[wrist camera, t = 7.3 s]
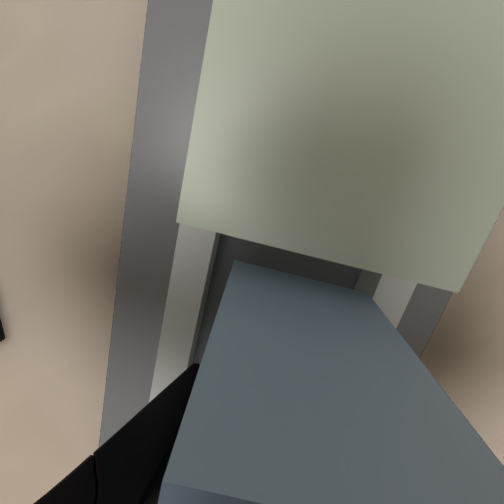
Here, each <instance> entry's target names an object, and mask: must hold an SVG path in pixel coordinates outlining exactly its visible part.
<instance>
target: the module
mask: <svg viewBox="0 0 504 504" xmlns="http://www.w3.org/2000/svg"><path fill="white" fill-rule="evenodd" d="M158 504H504V466H503V465H502V463H501V462H500V461H499V460H498V458H497V457H496V456H495V455H494V453H493V452H492V451H491V449H490V448H489V447H488V446H487V444H486V443H485V442H484V441H483V439H482V438H481V437H480V435H479V434H478V433H477V432H476V430H475V429H474V428H473V426H472V425H471V424H470V423H469V421H468V420H467V419H466V418H465V416H464V415H463V414H462V412H461V411H460V410H459V409H458V407H457V406H456V405H455V404H454V402H453V401H452V400H451V398H450V397H449V396H448V395H447V393H446V392H445V391H444V389H443V388H442V387H441V386H440V384H439V383H438V382H437V381H436V379H435V378H434V377H433V375H432V374H431V373H430V372H429V370H428V369H427V368H426V367H425V365H424V364H423V363H422V361H421V360H420V359H419V358H418V356H417V355H416V354H415V352H414V351H413V350H412V349H411V347H410V346H409V345H408V344H407V342H406V341H405V340H404V338H403V337H402V336H401V335H400V333H399V332H398V331H397V330H396V328H395V327H394V326H393V324H392V323H391V322H390V321H389V319H388V318H387V317H386V315H385V314H384V313H383V312H382V310H381V309H380V308H379V307H378V305H377V304H376V303H375V301H374V300H373V299H372V298H371V296H370V295H369V294H368V293H366V292H362V291H358V290H354V289H350V288H346V287H342V286H338V285H334V284H330V283H326V282H322V281H317V280H313V279H309V278H305V277H301V276H297V275H293V274H289V273H285V272H281V271H277V270H273V269H269V268H265V267H261V266H257V265H253V264H249V263H245V262H241V261H237V260H234V262H233V265H232V268H231V272H230V275H229V278H228V281H227V284H226V287H225V290H224V293H223V296H222V299H221V302H220V305H219V308H218V312H217V315H216V318H215V321H214V324H213V327H212V330H211V333H210V336H209V339H208V342H207V345H206V348H205V352H204V355H203V358H202V361H201V364H200V367H199V370H198V373H197V376H196V379H195V382H194V385H193V388H192V391H191V395H190V398H189V401H188V404H187V407H186V410H185V413H184V416H183V419H182V422H181V425H180V428H179V431H178V435H177V438H176V441H175V444H174V447H173V450H172V453H171V456H170V459H169V462H168V465H167V468H166V471H165V475H164V478H163V481H162V485H161V490H160V495H159V499H158Z"/></svg>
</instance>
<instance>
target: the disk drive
mask: <svg viewBox="0 0 504 504" xmlns="http://www.w3.org/2000/svg"><path fill="white" fill-rule="evenodd" d="M4 339H5V336H4V332H3V327H2V323H1V320H0V342H1V341H2V340H4Z"/></svg>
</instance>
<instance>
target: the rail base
mask: <svg viewBox="0 0 504 504" xmlns="http://www.w3.org/2000/svg"><path fill="white" fill-rule="evenodd" d="M503 208H504V0H148V6H147V15H146V24H145V33H144V42H143V51H142V60H141V69H140V78H139V87H138V96H137V106H136V115H135V124H134V133H133V142H132V151H131V160H130V169H129V178H128V187H127V196H126V205H125V214H124V223H123V232H122V241H121V250H120V259H119V268H118V277H117V287H116V296H115V305H114V314H113V323H112V332H111V341H110V350H109V359H108V368H107V377H106V386H105V395H104V404H103V413H102V422H101V431H100V440H99V447H100V446H101V445H102V444H104V443H105V442H106V441H107V440H108V439H109V438H110V437H111V436H112V435H114V434H115V433H116V432H117V431H118V430H119V429H120V428H121V427H122V426H124V425H125V424H126V423H127V422H128V421H129V420H130V419H131V418H132V417H134V416H135V415H136V414H137V413H138V412H139V411H140V410H141V409H143V408H144V407H145V406H146V405H147V404H148V403H149V402H150V401H151V400H153V399H154V398H155V397H156V396H157V395H158V394H159V393H160V392H161V391H163V390H164V389H165V388H166V387H167V386H168V385H169V384H170V383H171V382H173V381H174V380H175V379H176V378H177V377H178V376H179V375H180V374H181V373H183V372H184V371H185V370H186V369H187V368H188V367H189V366H190V365H192V364H193V363H198V364H201V361H202V358H203V355H204V352H205V348H206V345H207V342H208V339H209V336H210V333H211V330H212V327H213V324H214V321H215V318H216V315H217V312H218V308H219V305H220V302H221V299H222V296H223V293H224V290H225V287H226V284H227V281H228V278H229V275H230V272H231V268H232V265H233V262H234V260H237V261H241V262H245V263H249V264H253V265H257V266H261V267H265V268H269V269H273V270H277V271H281V272H285V273H289V274H293V275H297V276H301V277H305V278H309V279H313V280H317V281H322V282H326V283H330V284H334V285H338V286H342V287H346V288H350V289H354V290H358V291H362V292H366V293H368V294H369V295H370V296H371V298H372V299H373V300H374V301H375V303H376V304H377V305H378V307H379V308H380V309H381V310H382V312H383V313H384V314H385V315H386V317H387V318H388V319H389V321H390V322H391V323H392V324H393V326H394V327H395V328H396V330H397V331H398V332H399V333H400V335H401V336H402V337H403V338H404V340H405V341H406V342H407V344H408V345H409V346H410V347H411V349H412V350H413V351H414V352H415V354H416V355H417V356H418V358H420V356H421V354H422V352H423V350H424V348H425V346H426V344H427V342H428V340H429V338H430V336H431V334H432V332H433V330H434V329H435V327H436V325H437V323H438V321H439V319H440V317H441V315H442V313H443V311H444V309H445V307H446V305H447V303H448V301H449V299H450V297H451V295H452V293H453V292H455V293H459V292H460V290H461V289H462V287H463V285H464V283H465V281H466V279H467V277H468V275H469V273H470V271H471V269H472V267H473V265H474V263H475V262H476V260H477V258H478V256H479V254H480V252H481V250H482V248H483V246H484V244H485V242H486V240H487V238H488V237H489V235H490V233H491V231H492V229H493V227H494V225H495V223H496V221H497V219H498V217H499V215H500V213H501V211H502V210H503Z"/></svg>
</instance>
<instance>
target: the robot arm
mask: <svg viewBox="0 0 504 504" xmlns="http://www.w3.org/2000/svg"><path fill="white" fill-rule="evenodd" d="M199 367H200V364H198V363H193V364H192V365H190V366H189V367H188V368H187V369H186V370H185V371H184V372H183V373H181V374H180V375H179V376H178V377H177V378H176V379H175V380H174V381H173V382H171V383H170V384H169V385H168V386H167V387H166V388H165V389H164V390H163V391H161V392H160V393H159V394H158V395H157V396H156V397H155V398H154V399H153V400H151V401H150V402H149V403H148V404H147V405H146V406H145V407H144V408H143V409H141V410H140V411H139V412H138V413H137V414H136V415H135V416H134V417H132V418H131V419H130V420H129V421H128V422H127V423H126V424H125V425H124V426H122V427H121V428H120V429H119V430H118V431H117V432H116V433H115V434H114V435H112V436H111V437H110V438H109V439H108V440H107V441H106V442H105V443H104V444H102V445H101V446H100V447H99V448H98V449H97V450H96V451H95V452H94V453H93V455H90V456H89V457H88V458H87V459H85V460H84V461H83V462H82V463H81V464H80V465H79V466H78V467H77V468H76V469H74V470H73V471H72V472H71V473H70V474H69V475H67V476H66V477H65V478H64V479H63V480H62V481H60V482H59V483H58V484H57V485H56V486H55V487H53V488H52V489H51V490H50V491H49V492H48V493H46V494H45V495H44V496H43V497H41V498H40V499H39V500H37V501H36V502H35V503H34V504H158V499H159V495H160V490H161V485H162V481H163V478H164V475H165V471H166V468H167V465H168V462H169V459H170V456H171V453H172V450H173V447H174V444H175V441H176V438H177V435H178V431H179V428H180V425H181V422H182V419H183V416H184V413H185V410H186V407H187V404H188V401H189V398H190V395H191V391H192V388H193V385H194V382H195V379H196V376H197V373H198V370H199Z"/></svg>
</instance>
